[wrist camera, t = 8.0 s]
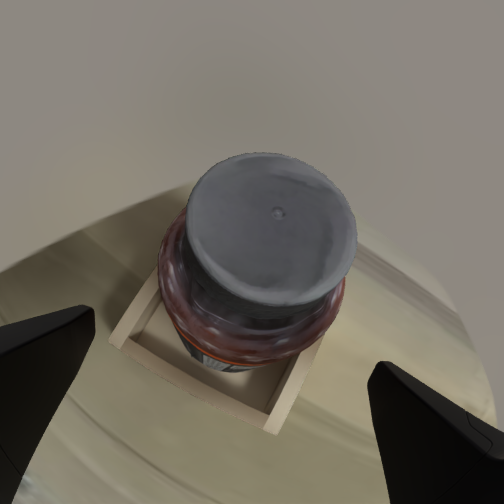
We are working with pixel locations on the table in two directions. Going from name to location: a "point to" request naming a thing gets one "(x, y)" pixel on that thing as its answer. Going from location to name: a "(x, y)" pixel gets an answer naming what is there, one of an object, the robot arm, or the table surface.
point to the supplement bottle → (256, 261)
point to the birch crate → (202, 377)
